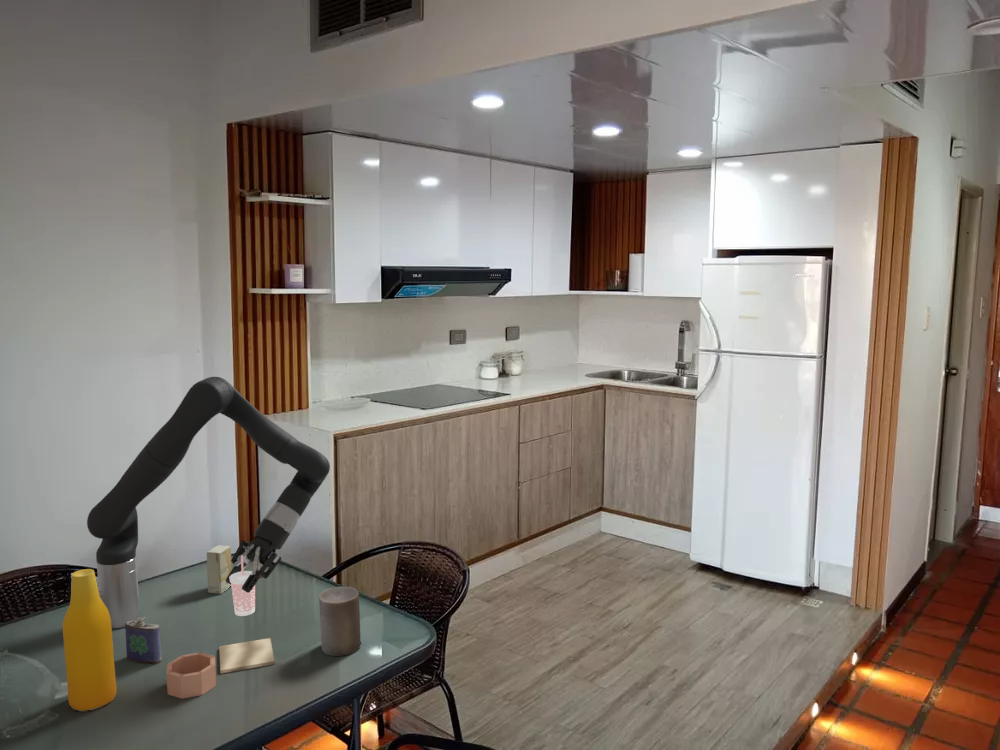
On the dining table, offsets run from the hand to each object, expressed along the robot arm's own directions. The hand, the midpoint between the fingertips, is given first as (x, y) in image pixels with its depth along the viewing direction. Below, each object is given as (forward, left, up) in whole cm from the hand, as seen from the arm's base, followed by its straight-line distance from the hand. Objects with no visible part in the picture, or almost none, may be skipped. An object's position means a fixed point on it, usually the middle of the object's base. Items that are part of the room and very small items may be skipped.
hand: (237, 586), depth 183 cm
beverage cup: (+1, +1, -7) cm, 7 cm away
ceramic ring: (-11, -8, -18) cm, 23 cm away
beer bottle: (-31, -7, -18) cm, 36 cm away
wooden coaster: (+1, +1, -18) cm, 18 cm away
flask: (-22, +8, -18) cm, 29 cm away
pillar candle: (+23, -2, -18) cm, 30 cm away
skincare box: (-4, +44, -18) cm, 48 cm away
